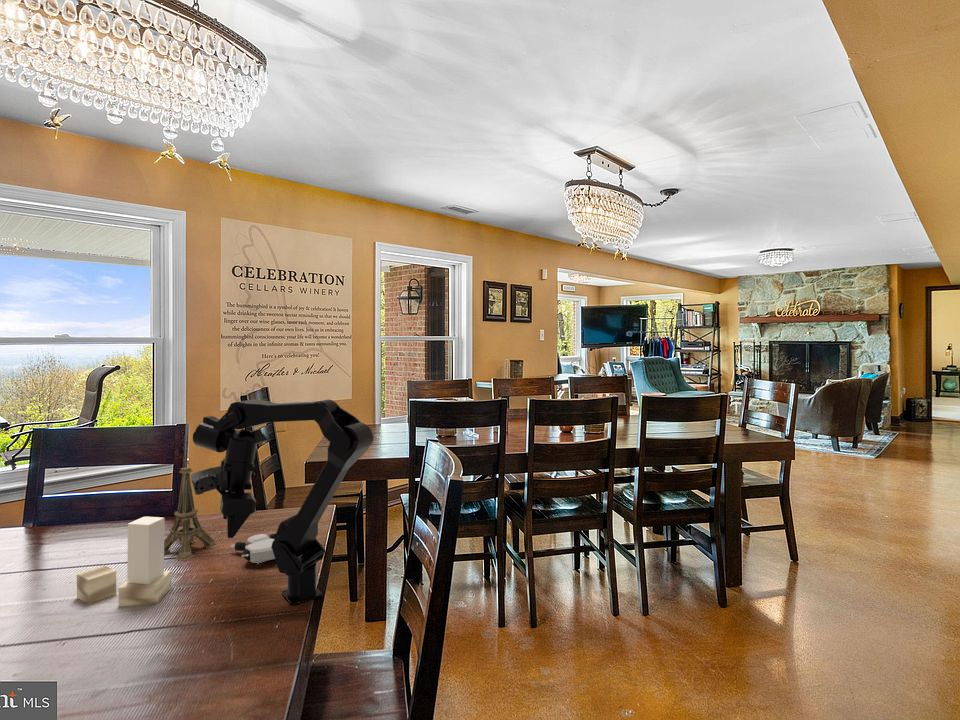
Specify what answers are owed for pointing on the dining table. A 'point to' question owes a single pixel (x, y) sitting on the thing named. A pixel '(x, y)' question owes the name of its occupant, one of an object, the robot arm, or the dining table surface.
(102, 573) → the cube
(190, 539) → the eiffel tower
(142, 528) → the pillar
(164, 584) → the tan glossy block
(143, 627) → the dining table surface
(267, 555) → the robot toy
